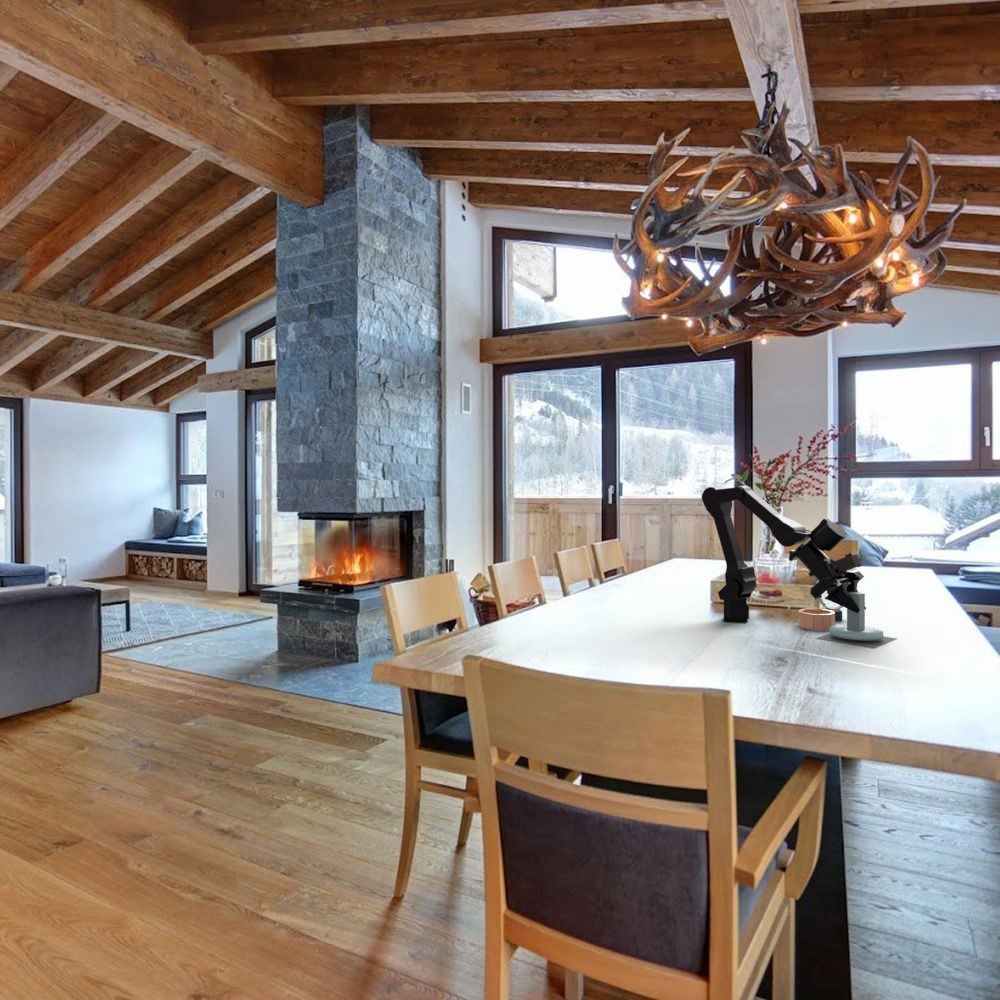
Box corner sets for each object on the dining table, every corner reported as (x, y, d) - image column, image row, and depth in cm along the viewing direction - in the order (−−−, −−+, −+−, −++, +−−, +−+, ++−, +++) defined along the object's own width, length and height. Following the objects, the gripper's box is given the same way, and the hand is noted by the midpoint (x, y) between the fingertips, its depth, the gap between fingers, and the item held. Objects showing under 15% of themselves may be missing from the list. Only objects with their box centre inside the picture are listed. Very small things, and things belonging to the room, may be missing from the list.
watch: (850, 622, 189) (849, 583, 189) (818, 621, 191) (818, 583, 191) (845, 618, 194) (845, 580, 194) (815, 617, 197) (814, 580, 196)
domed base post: (820, 634, 170) (820, 593, 170) (842, 627, 178) (842, 587, 177) (871, 643, 161) (871, 599, 160) (891, 634, 168) (891, 593, 168)
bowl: (800, 630, 181) (799, 613, 181) (798, 623, 189) (797, 607, 189) (836, 632, 178) (836, 615, 177) (832, 625, 186) (832, 609, 186)
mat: (814, 640, 170) (815, 638, 170) (840, 631, 179) (840, 629, 179) (874, 650, 159) (873, 648, 159) (897, 640, 168) (897, 638, 168)
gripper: (822, 545, 166) (870, 595, 157) (855, 539, 177) (901, 586, 169) (791, 574, 172) (835, 624, 164) (825, 566, 184) (868, 613, 176)
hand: (861, 611), depth 168 cm, fingers closed on domed base post, 3 cm apart
